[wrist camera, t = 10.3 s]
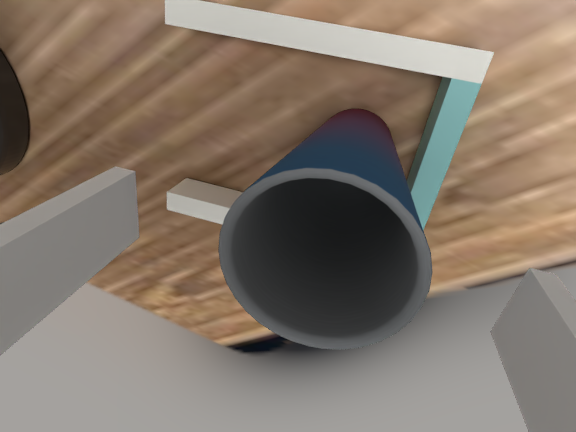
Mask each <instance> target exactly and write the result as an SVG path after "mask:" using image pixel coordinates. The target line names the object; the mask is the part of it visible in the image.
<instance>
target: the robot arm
mask: <svg viewBox="0 0 576 432" xmlns="http://www.w3.org/2000/svg"><path fill="white" fill-rule="evenodd" d="M27 141H28V118H27V112H26V107H25V103H24V99H23V96H22V93H21V90H20V87H19V85H18V82H17V80H16V78H15V76H14V73H13V72H12V70H11V68H10V66H9V64H8V62H7V61H6V59H5V57H4V56H3V54H2V53H1V51H0V175H1V174H3V173H6V172H8V171H10V170H11V169H13V168H14V167H15V166H16V165H17V164H18V163H19V162H20V160H21V159H22V157H23V155H24V152H25V150H26V146H27ZM138 238H139V224H138V207H137V191H136V174H135V171H132V170H128V169H124V168H120V167H116V166H115V167H113V168H111V169H109V170H107V171H105V172H103V173H101V174H99V175H97V176H95V177H93V178H91V179H89V180H87V181H85V182H83V183H81V184H79V185H77V186H75V187H73V188H71V189H69V190H67V191H65V192H63V193H61V194H59V195H57V196H56V197H54V198H52V199H50V200H48V201H46V202H44V203H42V204H40V205H38V206H36V207H34V208H32V209H30V210H28V211H26V212H24V213H22V214H20V215H18V216H16V217H14V218H12V219H10V220H8V221H6V222H3V223H0V355H1V354H3V353H4V352H5V351H6V350H7V349H9V348H10V347H11V346H12V345H13V344H14V343H16V342H17V341H18V340H19V339H20V338H21V337H23V336H24V335H25V334H26V333H27V332H28V331H30V330H31V329H32V328H33V327H34V326H35V325H37V324H38V323H39V322H40V321H41V320H43V319H44V318H45V317H46V316H47V315H48V314H50V313H51V312H52V311H53V310H54V309H55V308H57V307H58V306H59V305H60V304H61V303H62V302H64V301H65V300H66V299H67V298H68V297H70V295H72V294H73V293H74V292H75V291H77V290H78V289H79V288H80V287H81V286H83V285H84V284H85V283H86V282H87V281H88V280H90V279H91V278H92V277H93V276H94V275H95V274H97V273H98V272H99V271H100V270H101V269H103V268H104V267H105V266H106V265H107V264H108V263H110V262H111V261H112V260H113V259H114V258H115V257H117V256H118V255H119V254H120V253H121V252H122V251H124V250H125V249H126V248H127V247H128V246H130V245H131V244H132V243H133V242H134V241H135V240H137V239H138ZM491 335H492V337H493V340H494V342H495V345H496V348H497V350H498V353H499V355H500V358H501V361H502V364H503V366H504V369H505V371H506V374H507V377H508V379H509V382H510V384H511V387H512V389H513V392H514V395H515V398H516V400H517V403H518V405H519V408H520V411H521V413H522V416H523V419H524V421H525V424H526V426H527V429H528V432H576V300H575V299H574V298H573V296H572V295H571V294H570V292H569V291H568V290H567V289H566V287H565V286H564V284H563V283H562V282H561V280H560V279H559V278H558V276H557V275H556V274H553V273H549V272H545V271H541V270H536V269H532V268H529V269H528V271H527V273H526V274H525V276H524V277H523V279H522V281H521V282H520V284H519V286H518V287H517V289H516V291H515V292H514V294H513V296H512V297H511V299H510V301H509V302H508V304H507V306H506V307H505V309H504V310H503V312H502V314H501V315H500V317H499V319H498V320H497V322H496V323H495V325H494V327H493V328H492V330H491Z"/></svg>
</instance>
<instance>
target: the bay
mask: <svg viewBox="0 0 576 432" xmlns="http://www.w3.org/2000/svg"><path fill="white" fill-rule="evenodd" d="M165 24H168V25H173V26H179V27H184V28H189V29H194V30H200V31H205V32H210V33H216V34H221V35H226V36H231V37H237V38H242V39H247V40H253V41H258V42H263V43H268V44H274V45H279V46H284V47H290V48H295V49H300V50H305V51H311V52H316V53H321V54H327V55H332V56H337V57H342V58H348V59H353V60H358V61H364V62H369V63H374V64H379V65H385V66H390V67H395V68H401V69H406V70H411V71H416V72H422V73H427V74H432V75H438V76H443V77H442V80H441V83H440V86H439V89H438V91H437V94H436V97H435V100H434V103H433V106H432V109H431V112H430V115H429V118H428V120H427V123H426V126H425V129H424V132H423V135H422V138H421V141H420V144H419V147H418V149H417V152H416V155H415V158H414V161H413V164H412V167H411V170H410V173H409V175H408V178H407V184H408V187H409V190H410V193H411V196H412V199H413V202H414V205H415V208H416V211H417V214H418V217H419V220H420V222H421V225H422V228H423V230H424V227H425V225H426V222H427V220H428V217H429V215H430V212H431V210H432V207H433V205H434V202H435V200H436V197H437V195H438V192H439V189H440V187H441V184H442V182H443V179H444V177H445V174H446V172H447V169H448V167H449V164H450V162H451V159H452V157H453V154H454V152H455V149H456V147H457V144H458V142H459V139H460V137H461V134H462V132H463V129H464V127H465V124H466V122H467V119H468V117H469V114H470V112H471V109H472V107H473V104H474V102H475V99H476V97H477V94H478V92H479V89H480V87H481V84H482V82H483V79H484V77H485V74H486V72H487V69H488V67H489V64H490V62H491V59H492V57H493V54H494V52H490V51H484V50H478V49H473V48H467V47H461V46H455V45H450V44H444V43H438V42H433V41H427V40H421V39H416V38H410V37H404V36H399V35H393V34H387V33H382V32H376V31H370V30H365V29H359V28H353V27H348V26H342V25H336V24H331V23H325V22H319V21H314V20H308V19H302V18H297V17H291V16H285V15H280V14H274V13H268V12H263V11H257V10H251V9H246V8H240V7H234V6H229V5H223V4H217V3H212V2H206V1H200V0H165ZM242 193H243V192H240V191H236V190H232V189H228V188H224V187H220V186H216V185H213V184H209V183H205V182H201V181H197V180H193V179H189V178H186V179H184V180H183V181H182V182H180V183H179V184H177V185H176V186H174V187H173V188H171V189H170V190H169V191H167V210H170V211H174V212H178V213H182V214H185V215H189V216H193V217H196V218H200V219H204V220H207V221H211V222H215V223H218V224H222V225H223V222H224V218H225V216H226V214H227V213H228V211H229V209H230V208H231V206H232V204H233V203H234V201H235V200H236V199H237V198H238V197H239V196H240V195H241V194H242Z"/></svg>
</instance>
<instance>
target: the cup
mask: <svg viewBox="0 0 576 432" xmlns="http://www.w3.org/2000/svg"><path fill="white" fill-rule="evenodd" d="M219 257H220V264H221V269H222V272H223V274H224V277H225V280H226V283H227V285H228V286H229V288H230V290H231V292H232V293H233V295H234V297H235V298H236V299H237V301H238V302H239V303H240V304H241V306H242V307H243V308H244V309H245V310H246V312H248V313H249V314H250V315H251V316H252V317H253V318H254V319H255V320H257V321H258V322H259V323H260V324H262V325H263V326H265V327H266V328H268V329H269V330H271V331H272V332H274V333H276V334H278V335H280V336H282V337H284V338H286V339H289V340H291V341H294V342H297V343H300V344H303V345H307V346H312V347H317V348H323V349H351V348H359V347H364V346H368V345H371V344H373V343H377V342H380V341H382V340H384V339H386V338H388V337H390V336H392V335H394V334H396V333H397V332H399V331H400V330H401V329H402V328H403V327H405V326H406V325H407V324H408V323H410V322H411V320H412V319H413V318H414V317H415V315H416V314H417V313H418V311H419V310H420V309H421V307H422V305H423V303H424V301H425V299H426V297H427V294H428V292H429V289H430V283H431V277H432V262H431V252H430V249H429V246H428V243H427V240H426V237H425V234H424V231H423V228H422V225H421V222H420V220H419V217H418V214H417V211H416V208H415V205H414V202H413V199H412V196H411V193H410V190H409V187H408V184H407V181H406V178H405V175H404V172H403V169H402V166H401V163H400V160H399V157H398V154H397V151H396V148H395V145H394V143H393V140H392V137H391V134H390V131H389V129H388V127H387V125H386V123H385V122H384V121H383V120H382V119H381V118H380V117H379V116H377V115H376V114H374V113H372V112H370V111H367V110H363V109H349V110H344V111H342V112H339V113H337V114H336V115H334V116H333V117H331V118H330V119H329V120H328V121H327V122H325V123H324V124H323V125H322V126H321V127H319V128H318V129H317V130H316V131H315V132H314V133H312V134H311V135H310V136H309V137H308V138H306V139H305V140H304V141H303V142H302V143H300V144H299V145H298V146H297V147H296V148H295V149H293V150H292V151H291V152H290V153H289V154H287V155H286V156H285V157H284V158H283V159H282V160H280V161H279V162H278V163H277V164H276V165H274V166H273V167H272V168H271V169H270V170H269V171H267V172H266V173H265V174H264V175H263V176H261V177H260V178H259V179H258V180H257V181H256V182H254V183H253V184H252V185H251V186H250V187H248V188H247V189H246V190H245V191H244V192H243V193H242V194H241V195H240V196H239V197H238V198H237V199H236V200H235V201H234V203H233V204H232V206H231V208H230V209H229V211H228V213H227V214H226V216H225V218H224V222H223V225H222V228H221V231H220V237H219Z"/></svg>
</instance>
